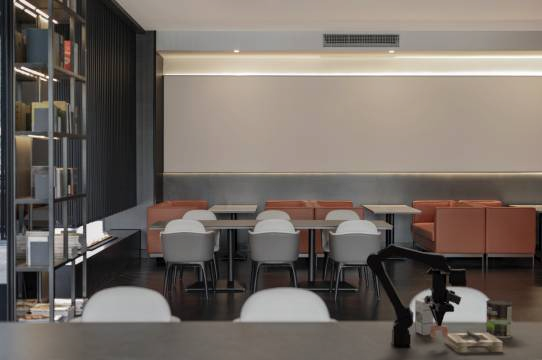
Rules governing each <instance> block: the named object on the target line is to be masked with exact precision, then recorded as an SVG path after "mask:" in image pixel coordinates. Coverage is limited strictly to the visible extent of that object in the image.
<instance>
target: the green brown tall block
mask: <svg viewBox="0 0 542 360" xmlns="http://www.w3.org/2000/svg"><path fill="white" fill-rule="evenodd" d="M485 302H486V324H485V326H486V327H485V328H486V329H485V333H490V334H491V335H493V336H494V337H496V338H497V339H507V338H508V339H509V338H511V337H512V316H513V315H512V313H513V312H512V311H513V309H512V307H513V303H512V302H511V301H508V300H505V299H503V300H502V299H488V300H486V301H485Z"/></svg>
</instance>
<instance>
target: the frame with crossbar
mask: <svg viewBox="0 0 542 360" xmlns="http://www.w3.org/2000/svg"><path fill="white" fill-rule="evenodd" d="M466 339H467V340H466ZM468 339H469V340H468ZM471 339H473V340H471ZM444 344H445V345H447V346H448V347H449V348H450V347H451V348H450V349H452V350H453V351H454V352H455V353H462V354H464V353H468V347H484V348H486V349H488V350H489V351H490V352H492V353H503V349H504V348H503V346H504V342H503V341H502V340H500V338H496V337H494V336H493V335H491V334H490V333H486V332H473V331H471V330H466V332H455V333H454V332H448V338H444Z"/></svg>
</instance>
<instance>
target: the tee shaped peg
mask: <svg viewBox="0 0 542 360" xmlns="http://www.w3.org/2000/svg"><path fill="white" fill-rule="evenodd" d="M442 324H443V323H442ZM442 324H441V326H438V324H437V321H436V322H435V325H433V326H431V329H430V335H429V336H430V338H431V339H437V338H436V333H437V332H436V331H441V336H442V338H444V339H445V338H448V333H449V332H448V326H447V325H442Z"/></svg>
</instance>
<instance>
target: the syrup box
mask: <svg viewBox="0 0 542 360" xmlns="http://www.w3.org/2000/svg"><path fill="white" fill-rule="evenodd" d="M414 301H415V302H414V307H415V308H414V309H415V310H414V312H415V315H414V317H415V318H414V319H415V323H414V325H415V326H414V329H415V330H414V332H415V333H416V334H418V333H419V335H421V336H430V335H429V334H430V329H431V326H434V317H433V315H432V313H431V310H430V308H429V306H430V302H428V304H426V303H425V297H424V298H417V299H415V300H414Z"/></svg>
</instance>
